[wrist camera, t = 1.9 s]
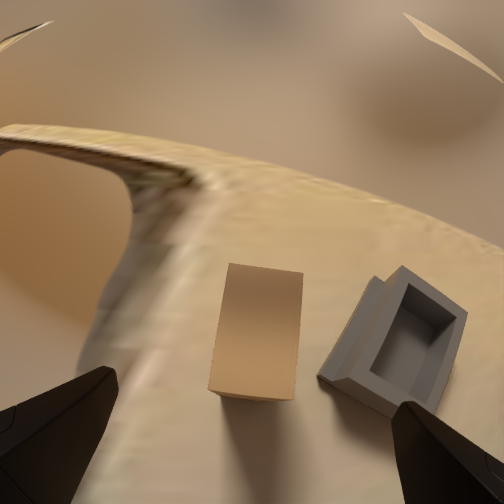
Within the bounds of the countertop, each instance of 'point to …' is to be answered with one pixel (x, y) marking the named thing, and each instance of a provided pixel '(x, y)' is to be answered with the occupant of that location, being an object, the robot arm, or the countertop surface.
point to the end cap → (397, 345)
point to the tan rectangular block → (257, 334)
